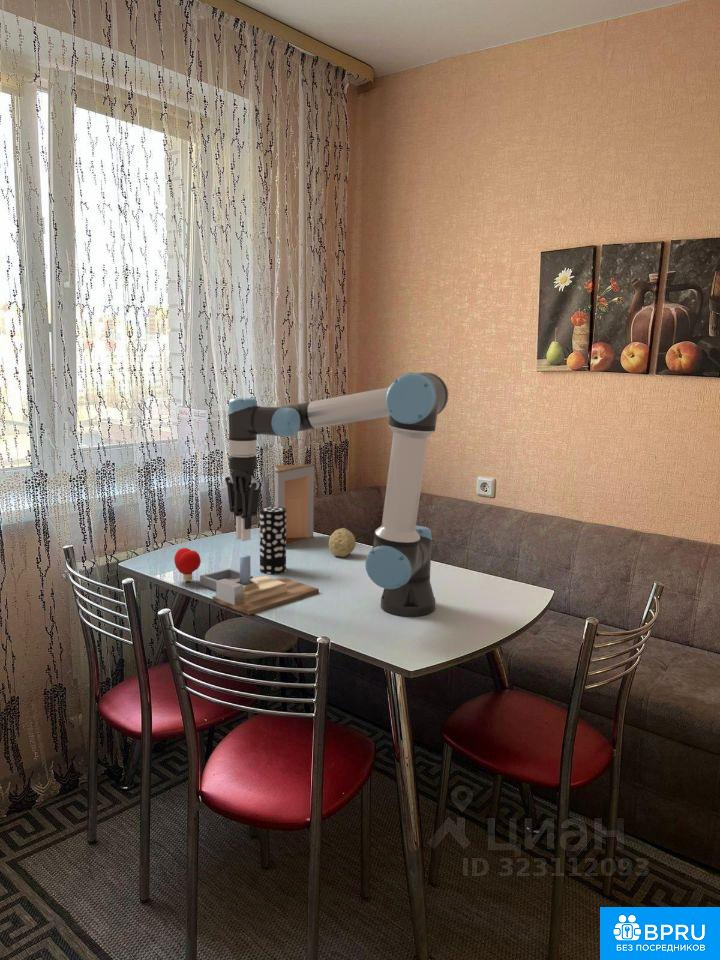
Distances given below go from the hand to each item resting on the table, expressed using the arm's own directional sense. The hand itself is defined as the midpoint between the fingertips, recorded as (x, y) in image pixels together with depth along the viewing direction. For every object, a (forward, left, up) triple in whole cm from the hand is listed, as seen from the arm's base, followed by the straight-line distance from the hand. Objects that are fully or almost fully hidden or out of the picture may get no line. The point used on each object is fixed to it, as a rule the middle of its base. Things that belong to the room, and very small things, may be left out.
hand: (243, 539), depth 202 cm
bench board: (-2, -7, -18) cm, 19 cm away
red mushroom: (+25, +1, -18) cm, 31 cm away
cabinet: (+41, -53, -18) cm, 69 cm away
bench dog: (0, +5, -16) cm, 17 cm away
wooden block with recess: (0, -4, -16) cm, 17 cm away
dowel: (0, 0, -14) cm, 14 cm away
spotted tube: (+16, -25, -18) cm, 34 cm away
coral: (+13, -53, -18) cm, 57 cm away
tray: (+14, -5, -18) cm, 23 cm away
